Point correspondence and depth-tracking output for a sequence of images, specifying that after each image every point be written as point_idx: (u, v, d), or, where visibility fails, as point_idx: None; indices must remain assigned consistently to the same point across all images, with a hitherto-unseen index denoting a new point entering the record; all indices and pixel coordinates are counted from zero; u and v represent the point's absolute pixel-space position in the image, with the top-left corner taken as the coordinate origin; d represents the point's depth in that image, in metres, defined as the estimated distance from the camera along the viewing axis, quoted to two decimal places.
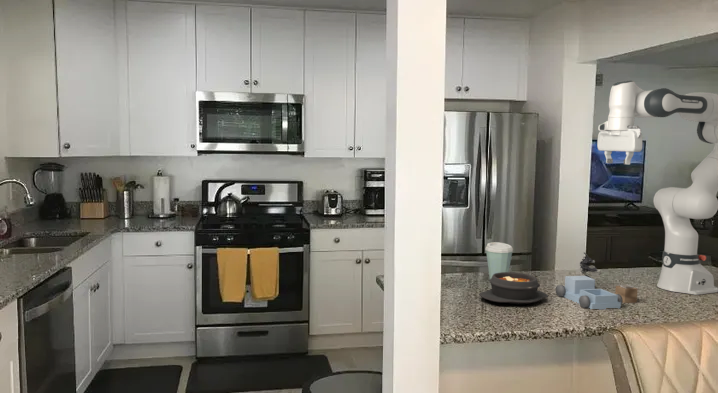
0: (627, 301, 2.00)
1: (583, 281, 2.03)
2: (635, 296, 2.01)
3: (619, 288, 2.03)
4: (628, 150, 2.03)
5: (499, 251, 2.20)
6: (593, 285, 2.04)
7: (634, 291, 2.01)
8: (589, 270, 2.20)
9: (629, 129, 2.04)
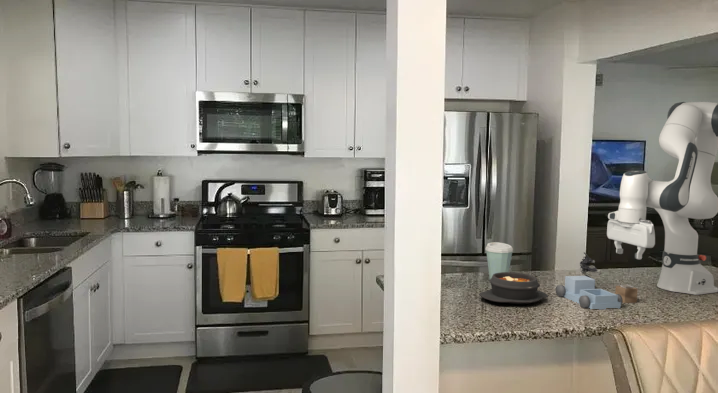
0: (627, 301, 2.00)
1: (583, 281, 2.03)
2: (635, 296, 2.01)
3: (619, 288, 2.03)
4: (640, 245, 1.94)
5: (499, 251, 2.20)
6: (593, 285, 2.04)
7: (634, 291, 2.01)
8: (589, 270, 2.20)
9: (641, 223, 1.95)
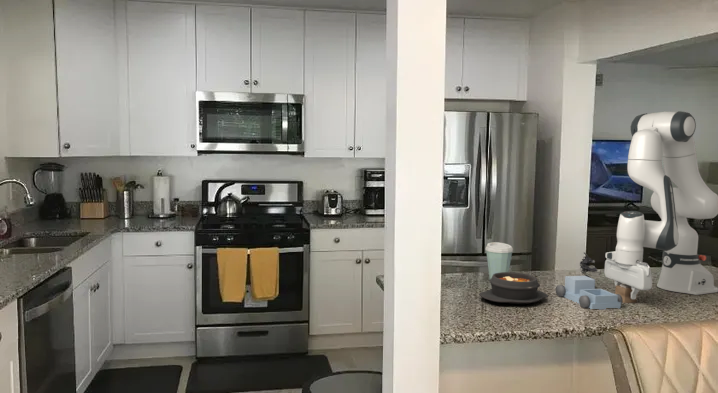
0: (627, 301, 2.00)
1: (583, 281, 2.03)
2: None
3: (619, 288, 2.03)
4: (637, 287, 1.95)
5: (499, 251, 2.20)
6: (593, 285, 2.04)
7: None
8: (589, 270, 2.20)
9: (638, 264, 1.97)
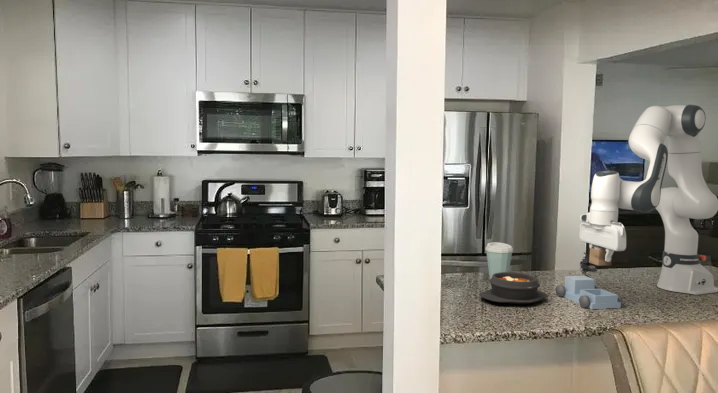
0: (601, 263, 1.92)
1: (583, 281, 2.03)
2: None
3: (593, 250, 1.95)
4: (611, 248, 1.87)
5: (499, 251, 2.20)
6: (593, 285, 2.04)
7: None
8: (589, 270, 2.20)
9: (612, 225, 1.89)
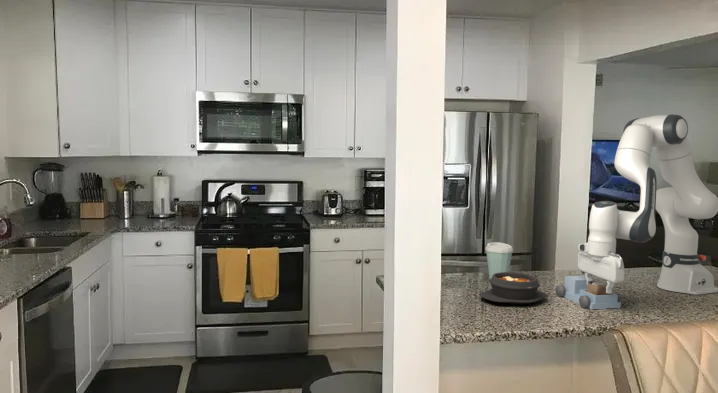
0: None
1: (583, 281, 2.03)
2: (607, 294, 1.94)
3: (591, 286, 1.96)
4: (609, 280, 1.88)
5: (499, 251, 2.20)
6: None
7: None
8: None
9: (610, 256, 1.90)
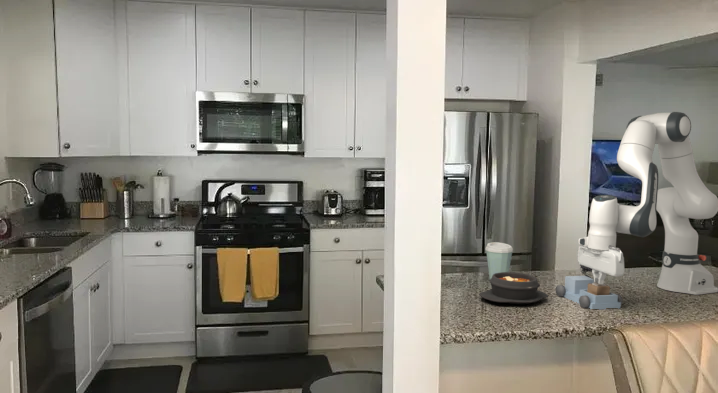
0: None
1: (583, 281, 2.03)
2: (607, 294, 1.94)
3: (591, 286, 1.96)
4: (609, 273, 1.88)
5: (499, 251, 2.20)
6: None
7: (606, 289, 1.94)
8: (589, 270, 2.20)
9: (610, 250, 1.89)
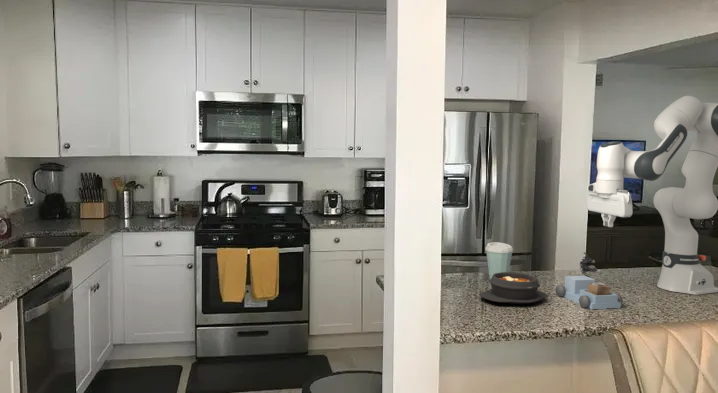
0: None
1: (583, 281, 2.03)
2: (607, 294, 1.94)
3: (591, 286, 1.96)
4: (618, 215, 1.97)
5: (499, 251, 2.20)
6: None
7: (606, 289, 1.94)
8: (589, 270, 2.20)
9: (618, 193, 1.98)
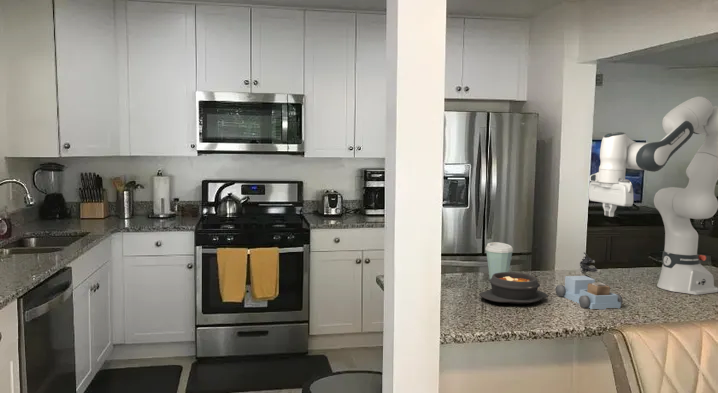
0: None
1: (583, 281, 2.03)
2: (607, 294, 1.94)
3: (591, 286, 1.96)
4: (619, 204, 2.00)
5: (499, 251, 2.20)
6: None
7: (606, 289, 1.94)
8: (589, 270, 2.20)
9: (620, 182, 2.01)
